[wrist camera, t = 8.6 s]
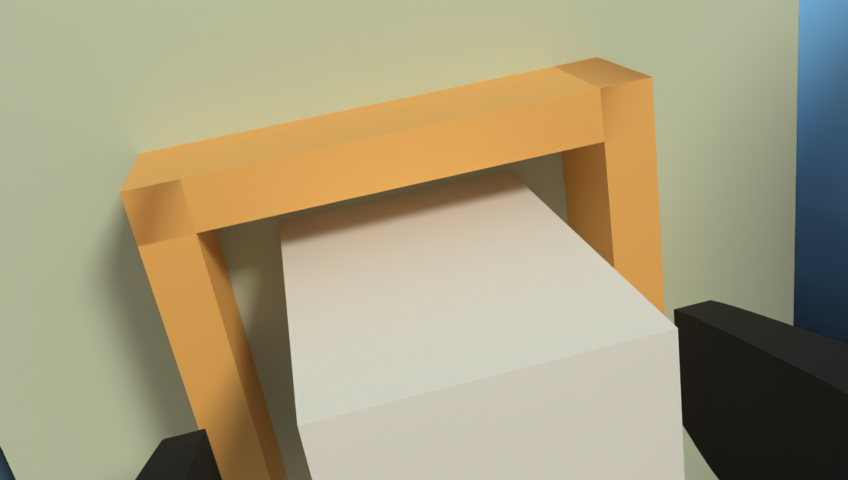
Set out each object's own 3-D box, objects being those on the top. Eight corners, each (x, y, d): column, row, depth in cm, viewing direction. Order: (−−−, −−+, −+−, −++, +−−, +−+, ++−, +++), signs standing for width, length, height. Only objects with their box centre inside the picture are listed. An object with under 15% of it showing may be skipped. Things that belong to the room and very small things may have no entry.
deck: (765, -152, 14) (893, -172, 11) (763, 490, 19) (849, 585, 16) (-159, 17, 12) (-282, 43, 9) (130, 673, 17) (106, 813, 15)
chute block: (508, 169, 14) (677, 327, 8) (539, 408, 16) (693, 666, 10) (278, 221, 13) (296, 425, 8) (340, 461, 15) (389, 760, 10)
